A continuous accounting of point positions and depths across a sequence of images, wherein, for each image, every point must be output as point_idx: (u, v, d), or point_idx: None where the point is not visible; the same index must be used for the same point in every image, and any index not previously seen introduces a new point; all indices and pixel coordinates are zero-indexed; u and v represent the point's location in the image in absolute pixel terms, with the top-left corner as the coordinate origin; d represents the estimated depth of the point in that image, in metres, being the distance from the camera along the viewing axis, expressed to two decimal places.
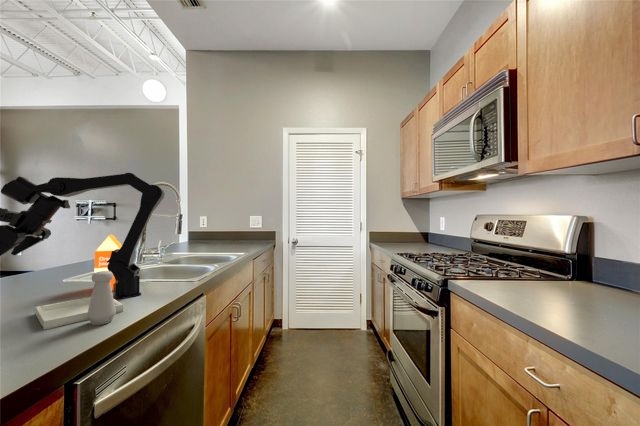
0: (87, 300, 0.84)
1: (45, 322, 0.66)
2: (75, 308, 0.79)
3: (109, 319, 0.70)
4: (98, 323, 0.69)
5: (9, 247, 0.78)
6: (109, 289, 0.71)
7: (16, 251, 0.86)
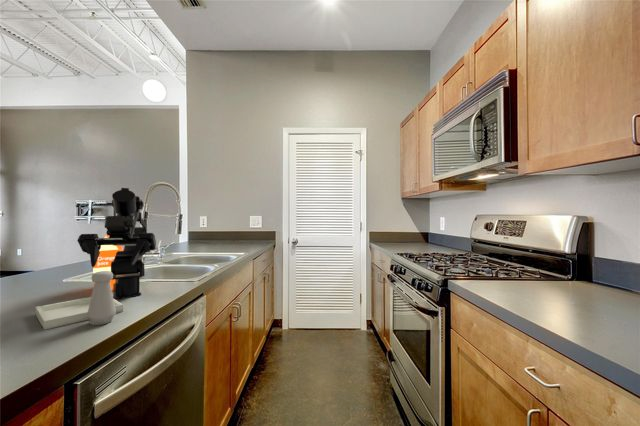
0: (87, 300, 0.84)
1: (45, 322, 0.66)
2: (75, 308, 0.79)
3: (109, 319, 0.70)
4: (98, 323, 0.69)
5: (143, 253, 0.85)
6: (109, 289, 0.71)
7: (95, 262, 0.77)
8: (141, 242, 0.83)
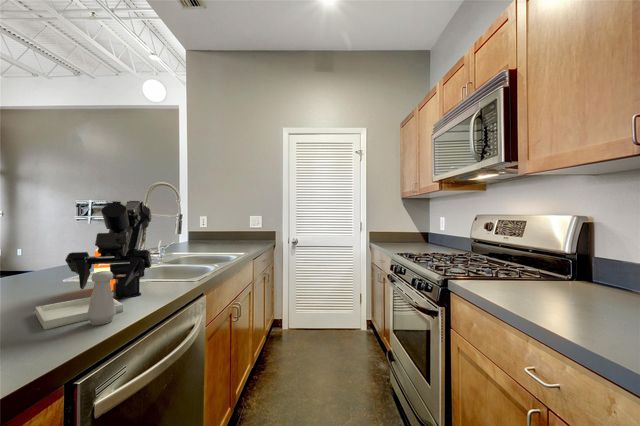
0: (87, 300, 0.84)
1: (45, 322, 0.66)
2: (75, 308, 0.79)
3: (109, 319, 0.70)
4: (98, 323, 0.69)
5: (137, 272, 0.79)
6: (109, 289, 0.71)
7: (84, 284, 0.71)
8: (135, 261, 0.76)
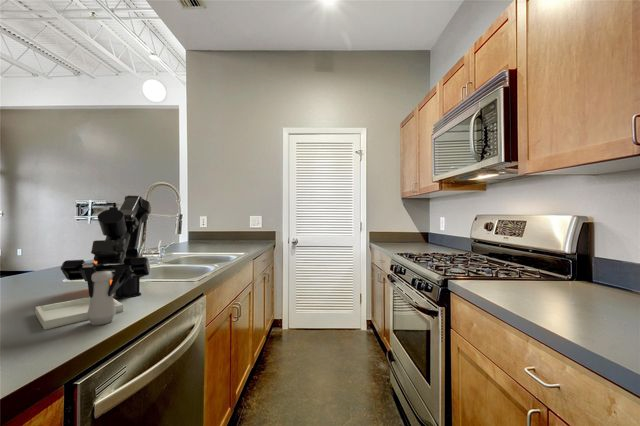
0: (87, 300, 0.84)
1: (45, 322, 0.66)
2: (75, 308, 0.79)
3: (109, 319, 0.70)
4: (98, 323, 0.69)
5: (123, 281, 0.75)
6: None
7: None
8: (121, 269, 0.73)
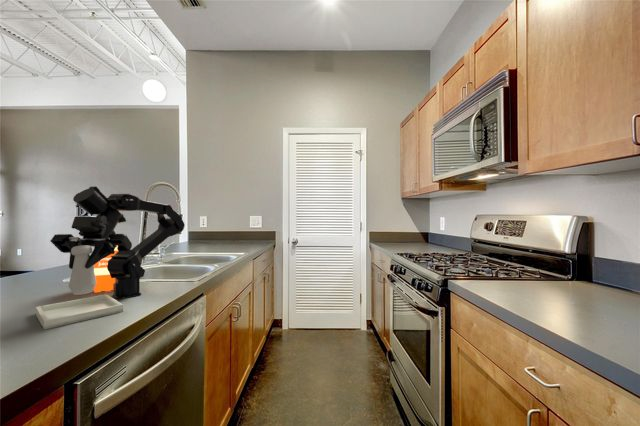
0: (87, 300, 0.84)
1: (45, 322, 0.66)
2: (75, 308, 0.79)
3: (87, 290, 0.75)
4: (77, 293, 0.74)
5: (105, 255, 0.80)
6: None
7: None
8: (100, 244, 0.77)
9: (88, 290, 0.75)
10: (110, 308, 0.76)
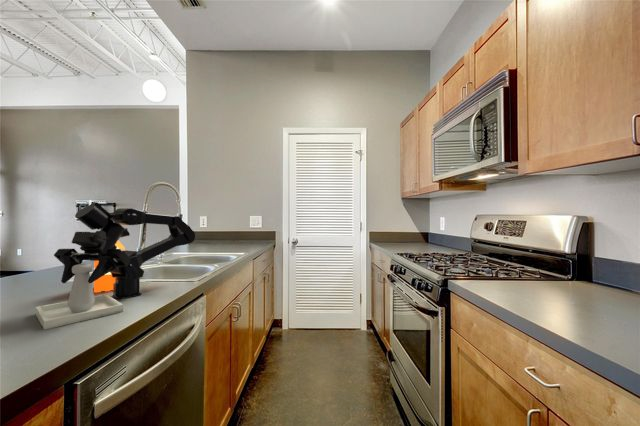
0: None
1: (45, 322, 0.66)
2: None
3: (84, 308, 0.76)
4: (74, 311, 0.75)
5: (109, 270, 0.81)
6: (86, 281, 0.77)
7: (67, 278, 0.77)
8: (103, 259, 0.79)
9: (85, 308, 0.76)
10: (110, 308, 0.76)
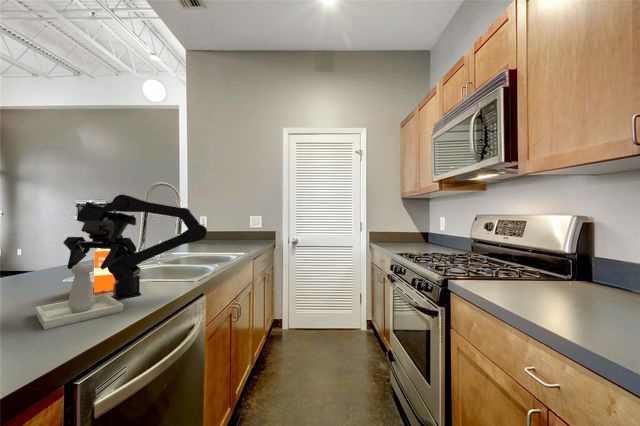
0: None
1: (45, 322, 0.66)
2: None
3: (84, 308, 0.76)
4: (74, 311, 0.75)
5: (120, 258, 0.85)
6: (86, 281, 0.77)
7: (73, 265, 0.81)
8: (115, 247, 0.83)
9: (85, 308, 0.76)
10: (110, 308, 0.76)
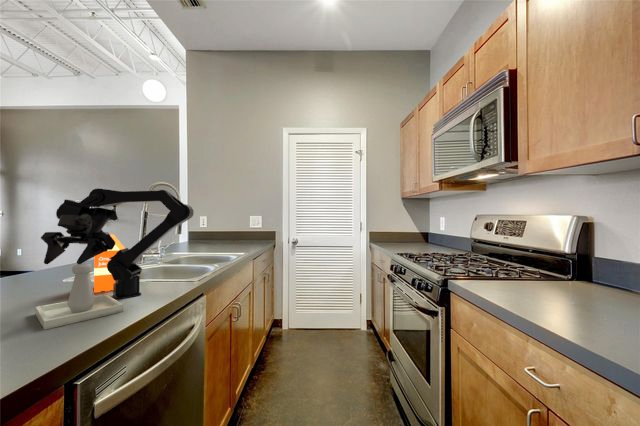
0: None
1: (45, 322, 0.66)
2: None
3: (84, 308, 0.76)
4: (74, 311, 0.75)
5: (98, 253, 0.84)
6: (86, 281, 0.77)
7: (50, 260, 0.80)
8: (92, 242, 0.82)
9: (85, 308, 0.76)
10: (110, 308, 0.76)
